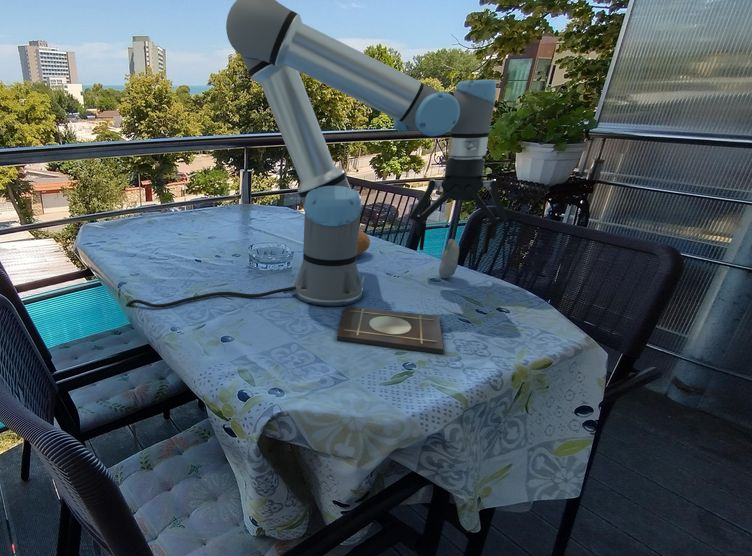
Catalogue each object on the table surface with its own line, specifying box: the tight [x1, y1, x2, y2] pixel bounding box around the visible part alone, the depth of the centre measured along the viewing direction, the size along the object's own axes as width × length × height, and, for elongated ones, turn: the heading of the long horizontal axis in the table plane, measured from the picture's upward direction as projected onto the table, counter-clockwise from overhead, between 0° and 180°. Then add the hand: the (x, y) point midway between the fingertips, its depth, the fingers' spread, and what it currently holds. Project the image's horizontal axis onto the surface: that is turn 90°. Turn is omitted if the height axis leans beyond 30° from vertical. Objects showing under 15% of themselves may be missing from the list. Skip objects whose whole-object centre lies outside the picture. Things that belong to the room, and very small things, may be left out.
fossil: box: [438, 238, 460, 279], centre depth 111 cm, size 6×4×10 cm, turn 169°
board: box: [336, 305, 444, 355], centre depth 89 cm, size 18×14×1 cm
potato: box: [357, 230, 371, 256], centre depth 130 cm, size 9×11×8 cm
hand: (452, 250), depth 110 cm, fingers open, 13 cm apart
